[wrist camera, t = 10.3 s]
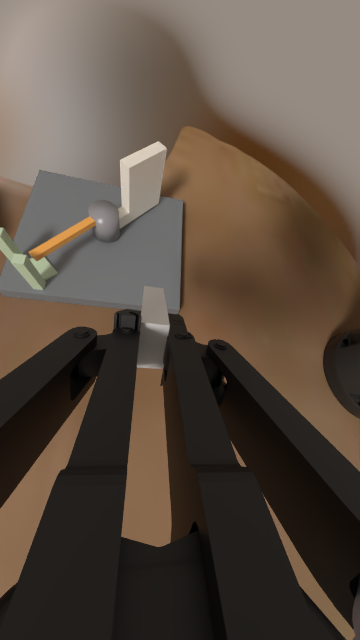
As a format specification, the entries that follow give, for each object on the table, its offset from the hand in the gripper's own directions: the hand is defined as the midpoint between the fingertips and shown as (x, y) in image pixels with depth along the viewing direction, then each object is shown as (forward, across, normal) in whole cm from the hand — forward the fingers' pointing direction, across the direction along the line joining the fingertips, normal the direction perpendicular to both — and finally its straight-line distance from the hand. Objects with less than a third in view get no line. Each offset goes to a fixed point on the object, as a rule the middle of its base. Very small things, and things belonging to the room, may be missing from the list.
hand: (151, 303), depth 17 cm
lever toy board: (+22, -7, +1) cm, 24 cm away
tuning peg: (+21, -7, +3) cm, 22 cm away
